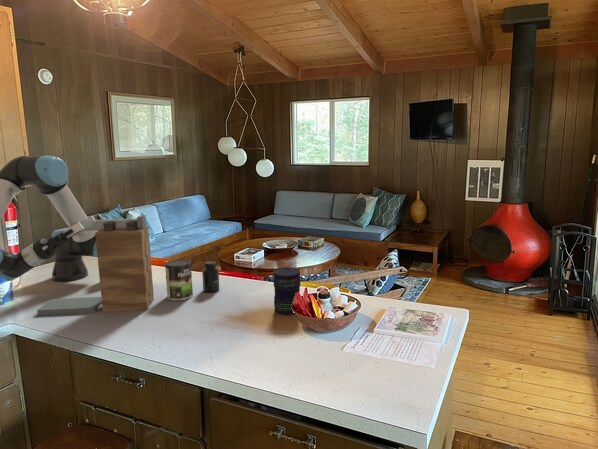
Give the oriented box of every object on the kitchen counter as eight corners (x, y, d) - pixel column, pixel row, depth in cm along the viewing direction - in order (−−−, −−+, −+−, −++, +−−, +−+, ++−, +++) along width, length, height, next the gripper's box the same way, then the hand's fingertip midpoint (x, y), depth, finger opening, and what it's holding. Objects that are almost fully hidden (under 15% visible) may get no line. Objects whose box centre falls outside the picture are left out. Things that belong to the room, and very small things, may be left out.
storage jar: (297, 316, 163) (297, 275, 161) (271, 314, 165) (270, 274, 163) (303, 306, 173) (302, 268, 170) (277, 305, 175) (276, 267, 172)
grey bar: (74, 229, 172) (73, 217, 172) (146, 226, 175) (145, 215, 174) (69, 231, 167) (68, 219, 167) (143, 229, 170) (142, 217, 169)
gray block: (51, 304, 180) (51, 299, 180) (104, 301, 182) (104, 296, 181) (37, 315, 168) (37, 310, 168) (94, 312, 170) (93, 307, 170)
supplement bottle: (217, 292, 190) (216, 264, 188) (201, 293, 190) (199, 264, 188) (221, 287, 197) (219, 260, 195) (205, 287, 197) (203, 260, 195)
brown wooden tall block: (112, 301, 182) (104, 219, 176) (153, 299, 184) (147, 217, 178) (102, 312, 170) (94, 224, 164) (147, 309, 172) (140, 223, 166)
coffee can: (198, 295, 188) (196, 261, 185) (178, 302, 179) (175, 267, 177) (182, 290, 194) (180, 258, 191) (161, 297, 186) (159, 263, 183)
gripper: (59, 252, 183) (104, 224, 183) (29, 269, 158) (81, 237, 158) (47, 236, 181) (93, 208, 181) (15, 251, 157) (68, 219, 157)
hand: (88, 221), depth 170 cm, fingers open, 13 cm apart
